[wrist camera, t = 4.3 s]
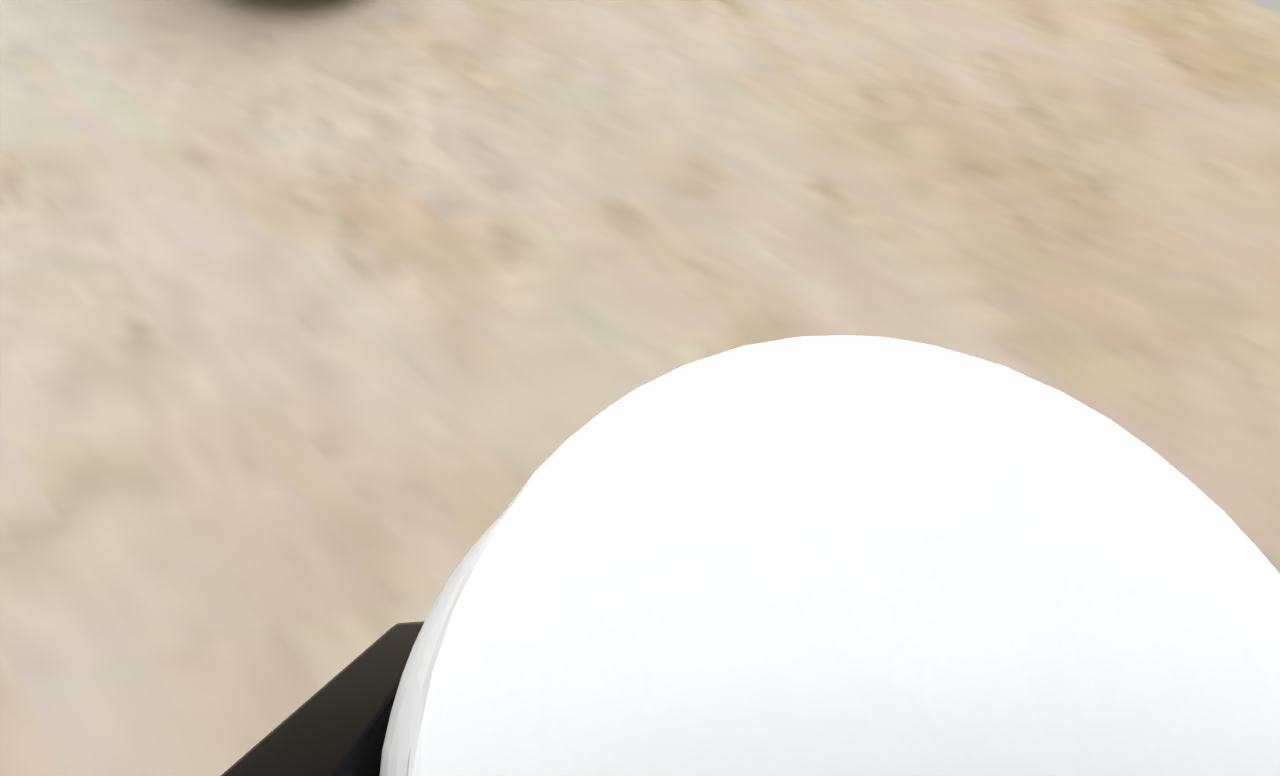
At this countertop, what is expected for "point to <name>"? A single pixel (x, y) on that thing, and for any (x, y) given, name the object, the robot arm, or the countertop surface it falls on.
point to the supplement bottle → (849, 589)
